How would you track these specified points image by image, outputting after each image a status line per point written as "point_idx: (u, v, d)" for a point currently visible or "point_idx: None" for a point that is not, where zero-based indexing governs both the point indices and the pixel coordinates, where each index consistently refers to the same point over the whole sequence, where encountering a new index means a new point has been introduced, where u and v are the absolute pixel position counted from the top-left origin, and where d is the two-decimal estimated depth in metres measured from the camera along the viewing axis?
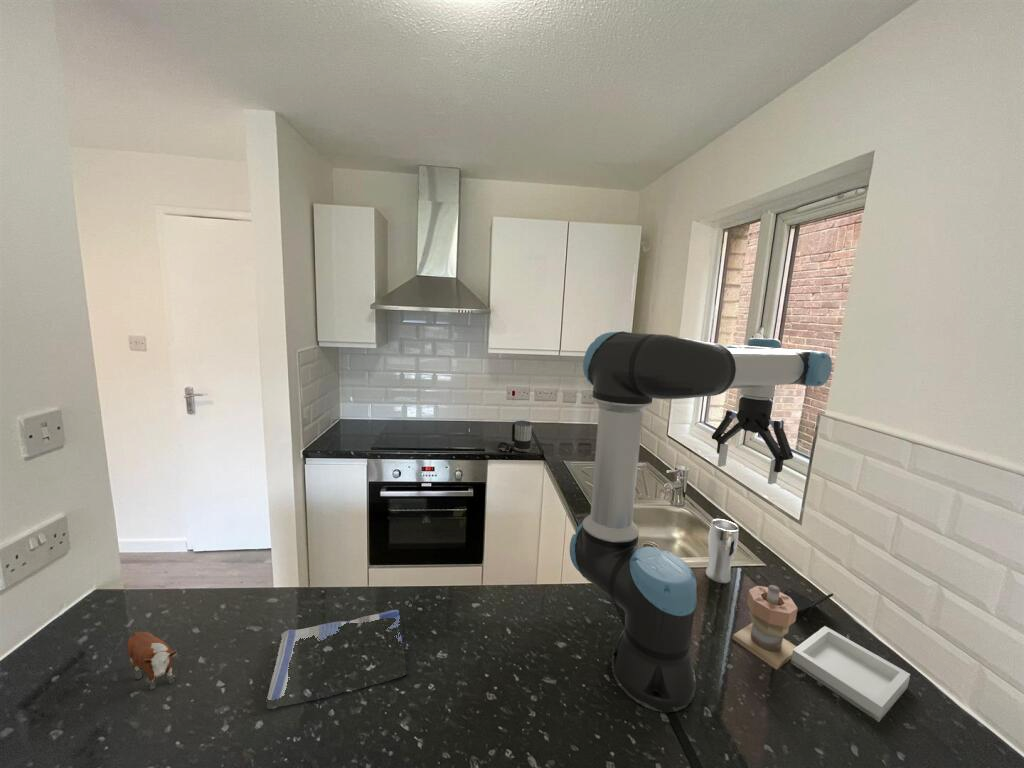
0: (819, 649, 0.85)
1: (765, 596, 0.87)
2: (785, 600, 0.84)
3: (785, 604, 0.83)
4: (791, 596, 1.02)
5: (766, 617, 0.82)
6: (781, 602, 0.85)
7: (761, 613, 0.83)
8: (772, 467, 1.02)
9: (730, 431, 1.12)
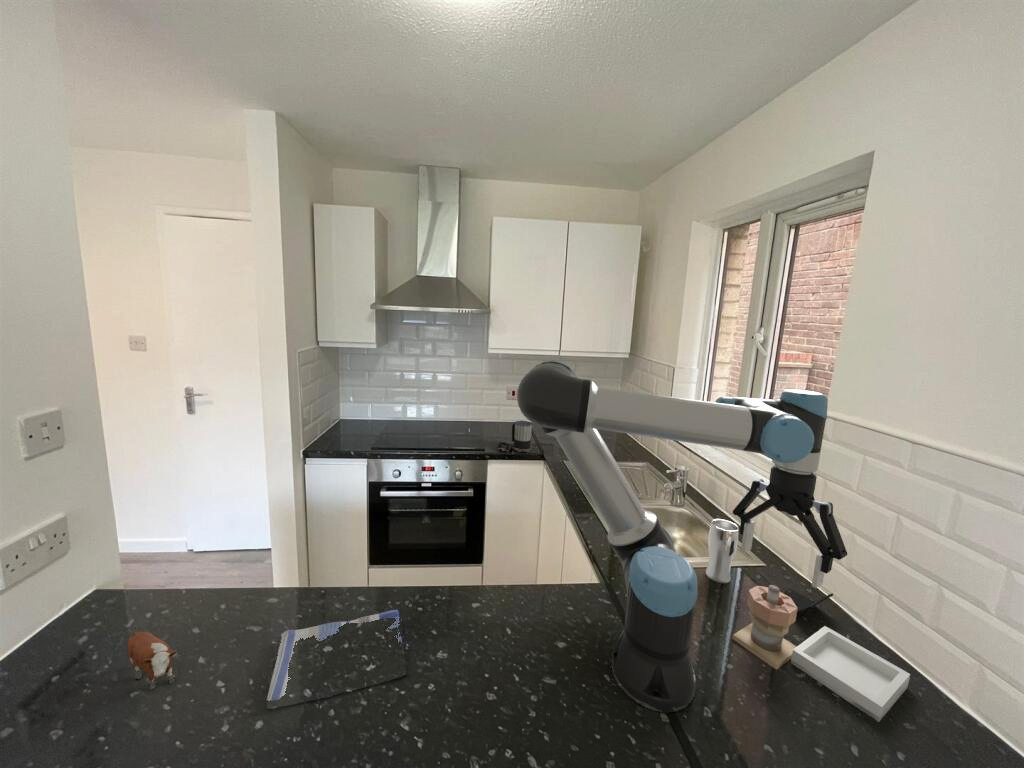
0: (819, 649, 0.85)
1: (765, 596, 0.87)
2: (785, 600, 0.84)
3: (785, 604, 0.83)
4: (791, 596, 1.02)
5: (766, 617, 0.82)
6: (781, 602, 0.85)
7: (761, 613, 0.83)
8: (818, 566, 0.76)
9: (758, 508, 0.85)
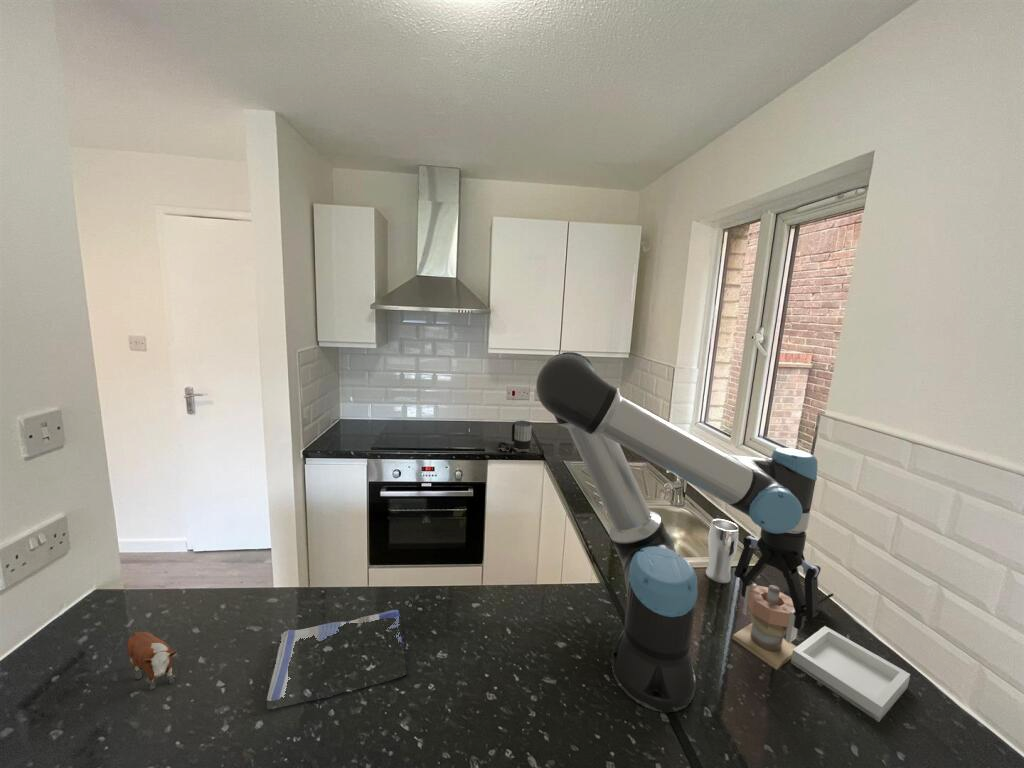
0: (819, 649, 0.85)
1: (765, 596, 0.87)
2: (785, 600, 0.84)
3: (785, 604, 0.83)
4: None
5: (766, 617, 0.82)
6: (781, 602, 0.85)
7: (761, 613, 0.83)
8: (791, 622, 0.80)
9: (755, 568, 0.86)
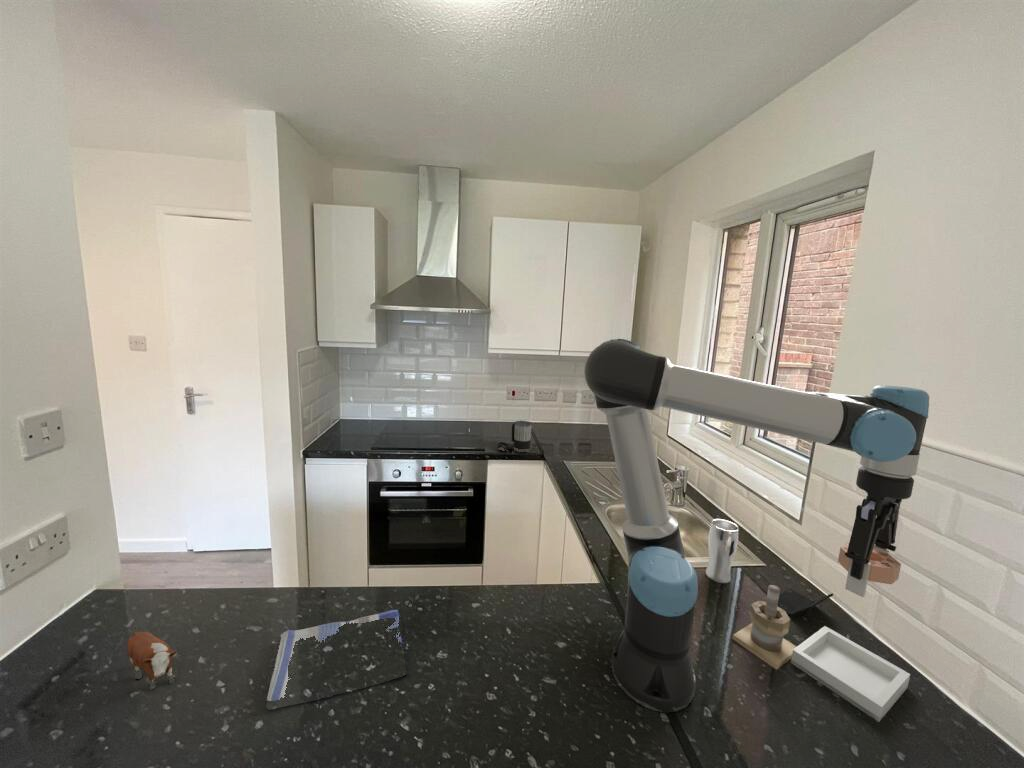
0: (819, 649, 0.85)
1: None
2: None
3: None
4: (791, 596, 1.02)
5: (898, 575, 0.74)
6: None
7: (896, 575, 0.73)
8: None
9: (875, 537, 0.72)
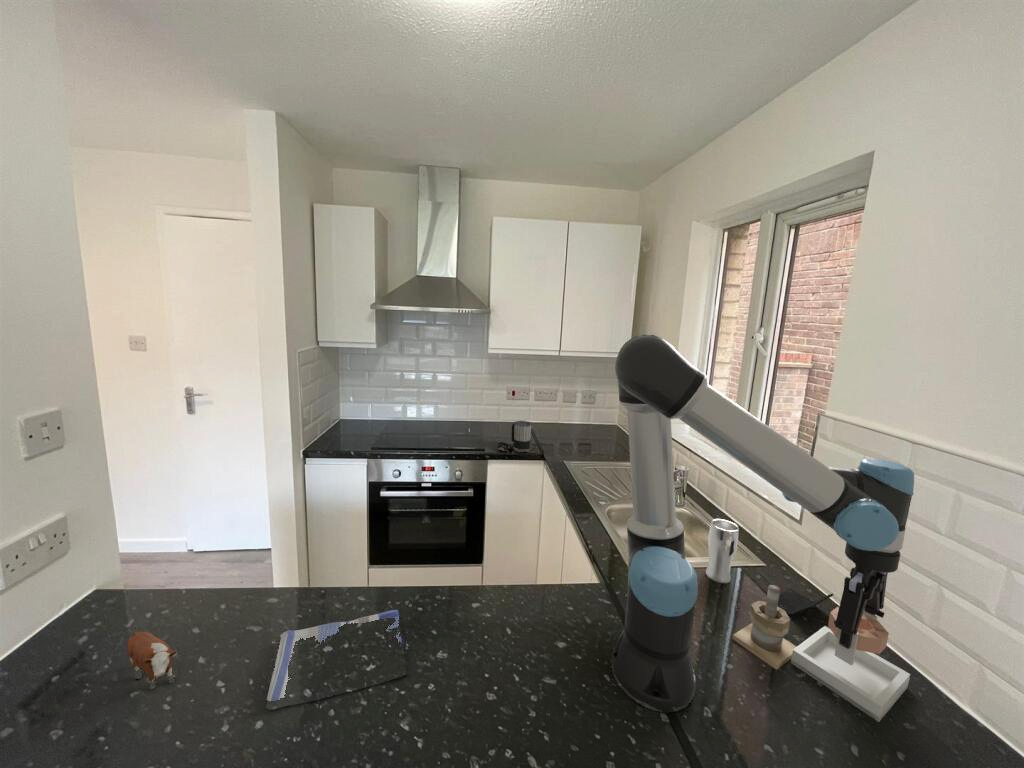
0: (819, 649, 0.85)
1: None
2: None
3: None
4: (791, 596, 1.02)
5: (885, 643, 0.76)
6: None
7: (883, 645, 0.75)
8: None
9: (863, 607, 0.74)
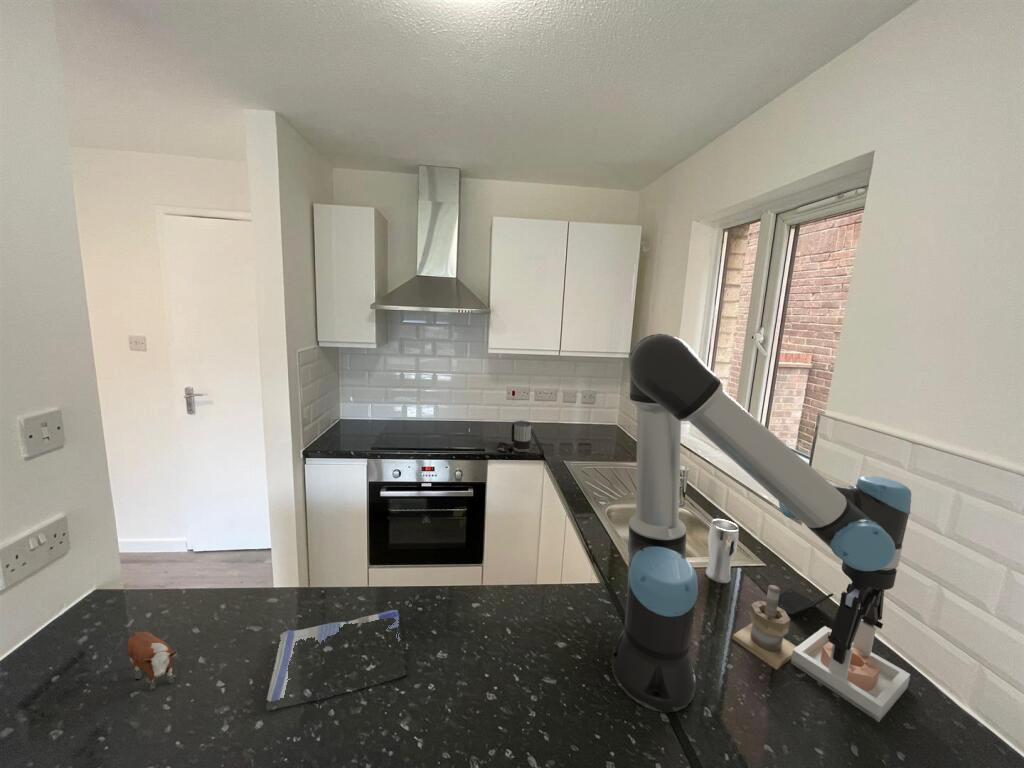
0: (819, 649, 0.85)
1: None
2: None
3: None
4: (791, 596, 1.02)
5: (876, 680, 0.77)
6: None
7: (874, 681, 0.76)
8: (873, 637, 0.81)
9: (858, 623, 0.75)
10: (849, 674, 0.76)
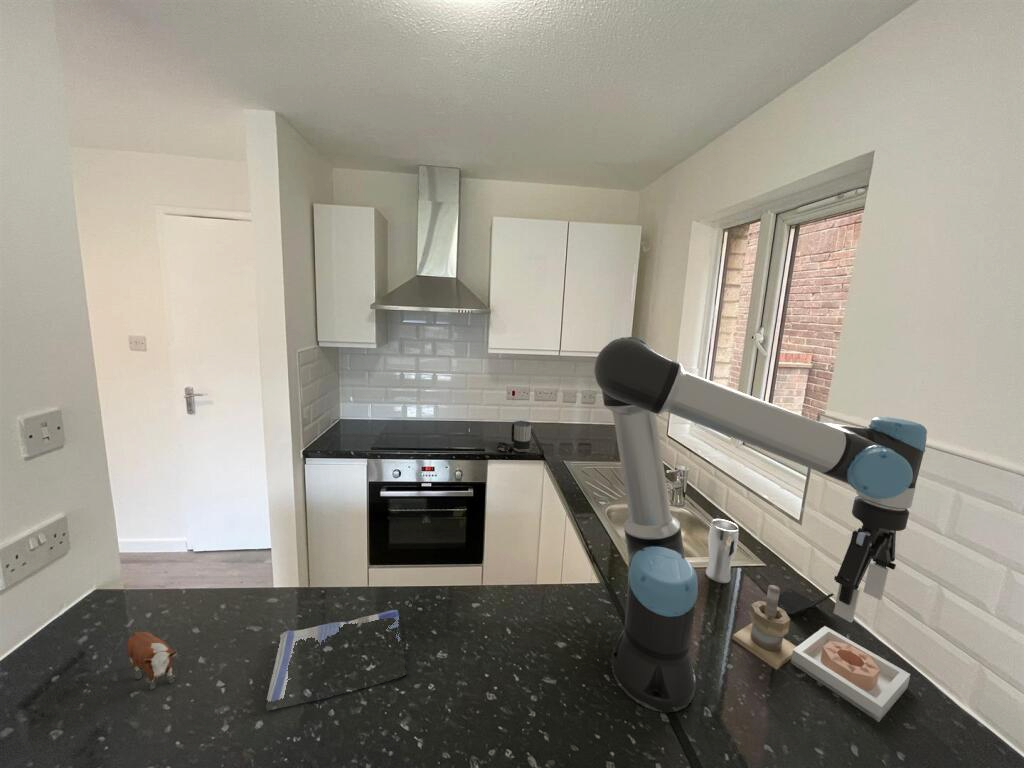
0: (819, 649, 0.85)
1: None
2: (841, 647, 0.82)
3: (851, 651, 0.81)
4: (791, 596, 1.02)
5: (876, 680, 0.77)
6: (839, 652, 0.81)
7: (874, 681, 0.76)
8: (885, 578, 0.79)
9: (867, 564, 0.72)
10: (849, 674, 0.76)
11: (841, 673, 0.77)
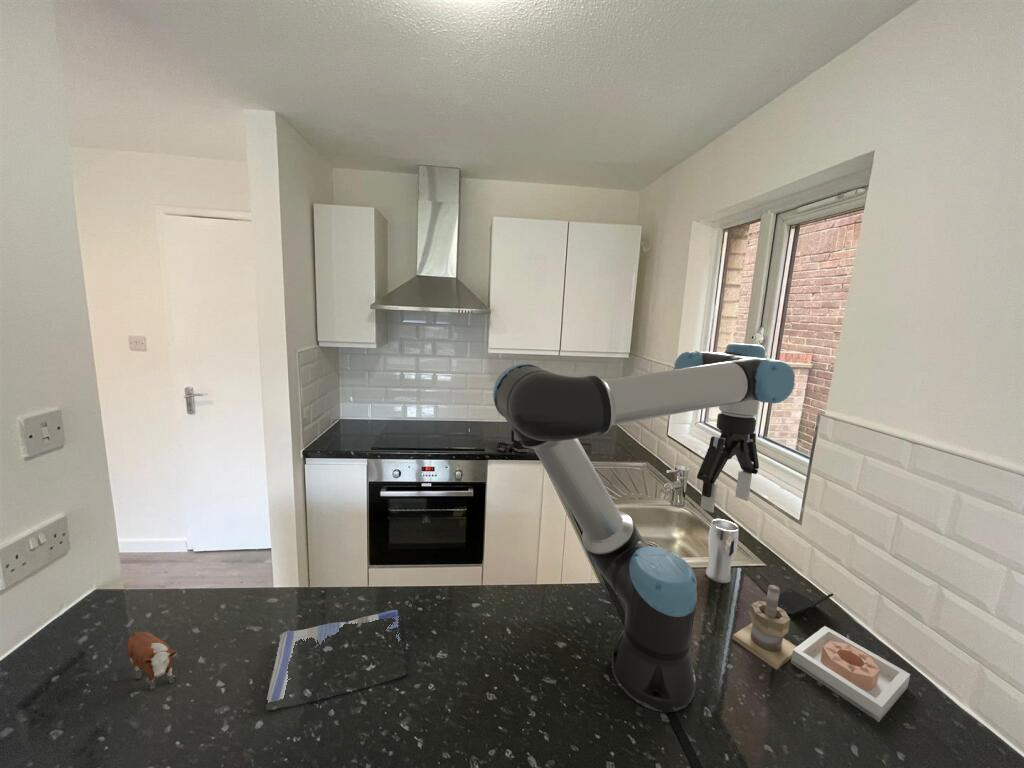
0: (819, 649, 0.85)
1: None
2: (841, 647, 0.82)
3: (851, 651, 0.81)
4: (791, 596, 1.02)
5: (876, 680, 0.77)
6: (839, 652, 0.81)
7: (874, 681, 0.76)
8: (750, 482, 0.95)
9: (723, 463, 0.88)
10: (849, 674, 0.76)
11: (841, 673, 0.77)
